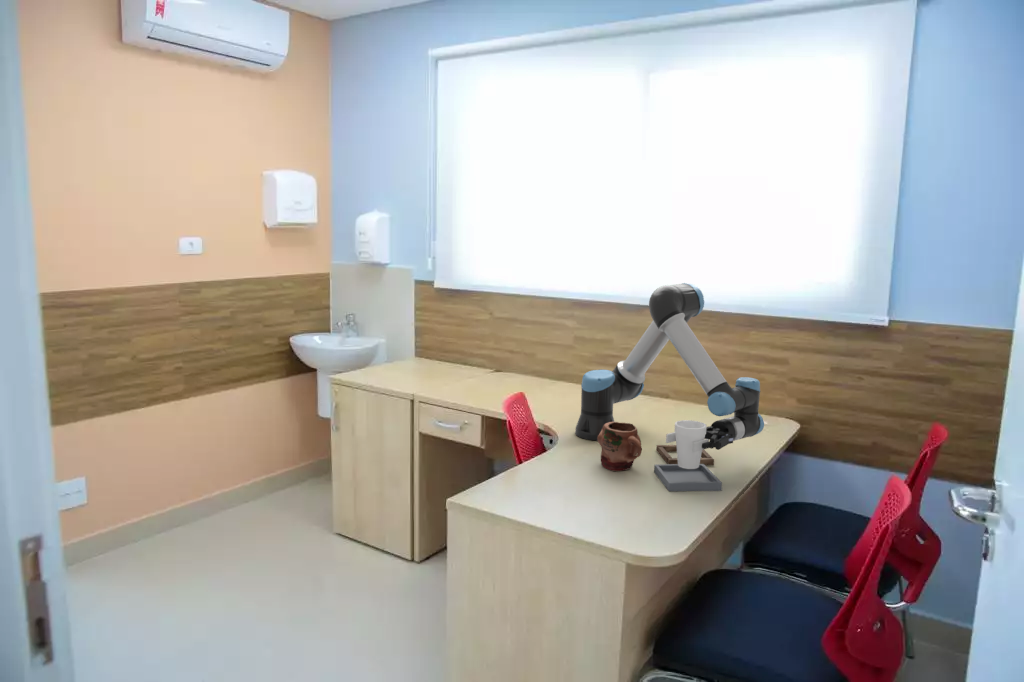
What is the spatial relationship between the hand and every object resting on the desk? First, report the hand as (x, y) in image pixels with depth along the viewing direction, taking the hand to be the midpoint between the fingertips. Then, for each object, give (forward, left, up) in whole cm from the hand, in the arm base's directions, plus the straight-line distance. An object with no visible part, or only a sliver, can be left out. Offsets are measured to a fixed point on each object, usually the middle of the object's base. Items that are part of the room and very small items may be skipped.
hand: (680, 442), depth 217 cm
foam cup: (+4, +2, -8) cm, 9 cm away
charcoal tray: (+4, +2, -13) cm, 14 cm away
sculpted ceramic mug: (-14, +14, -13) cm, 24 cm away
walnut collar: (+10, +23, -13) cm, 29 cm away
